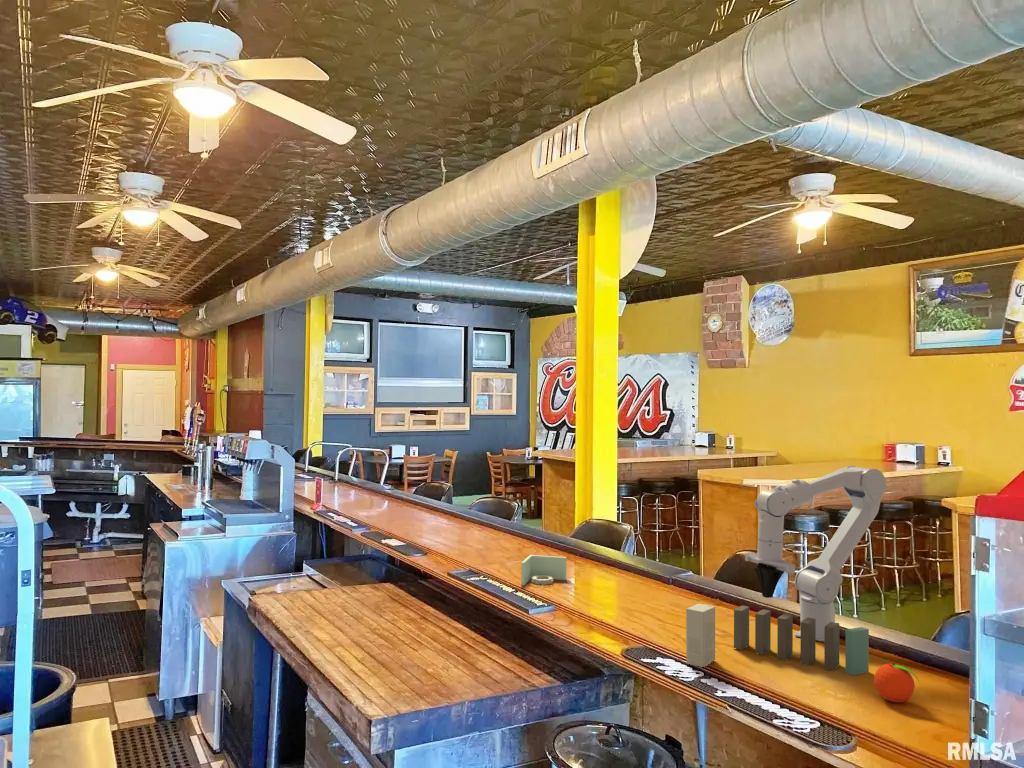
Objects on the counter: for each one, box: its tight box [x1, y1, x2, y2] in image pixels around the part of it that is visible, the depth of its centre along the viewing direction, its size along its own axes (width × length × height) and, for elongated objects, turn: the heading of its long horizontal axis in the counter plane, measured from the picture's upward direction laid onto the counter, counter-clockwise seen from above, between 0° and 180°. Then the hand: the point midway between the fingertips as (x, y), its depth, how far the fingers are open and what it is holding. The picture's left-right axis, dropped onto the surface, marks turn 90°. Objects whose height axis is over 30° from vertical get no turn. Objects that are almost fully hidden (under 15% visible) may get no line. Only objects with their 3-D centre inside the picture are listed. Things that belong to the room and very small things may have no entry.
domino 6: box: [844, 626, 870, 676], centre depth 157 cm, size 2×5×9 cm, turn 115°
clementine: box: [873, 662, 921, 703], centre depth 142 cm, size 8×7×7 cm
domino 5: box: [823, 621, 840, 672], centre depth 160 cm, size 2×5×9 cm, turn 142°
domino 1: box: [733, 605, 750, 651], centre depth 173 cm, size 2×5×9 cm, turn 142°
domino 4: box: [799, 617, 817, 666], centre depth 164 cm, size 2×5×9 cm, turn 142°
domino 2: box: [754, 608, 772, 656], centre depth 170 cm, size 2×5×9 cm, turn 142°
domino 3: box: [776, 612, 794, 661], centre depth 167 cm, size 2×5×9 cm, turn 142°
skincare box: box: [685, 603, 716, 668], centre depth 162 cm, size 6×4×12 cm
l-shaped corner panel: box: [520, 554, 568, 586], centre depth 233 cm, size 12×12×8 cm
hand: (767, 596), depth 179 cm, fingers closed
